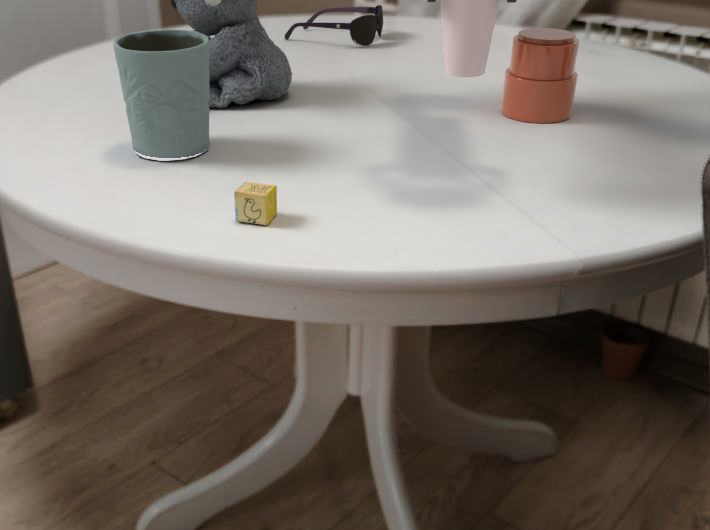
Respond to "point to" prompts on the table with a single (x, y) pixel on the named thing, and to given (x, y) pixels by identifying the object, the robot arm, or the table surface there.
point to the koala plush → (237, 51)
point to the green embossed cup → (165, 90)
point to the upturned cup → (541, 76)
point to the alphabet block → (255, 203)
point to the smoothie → (467, 35)
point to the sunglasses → (351, 24)
